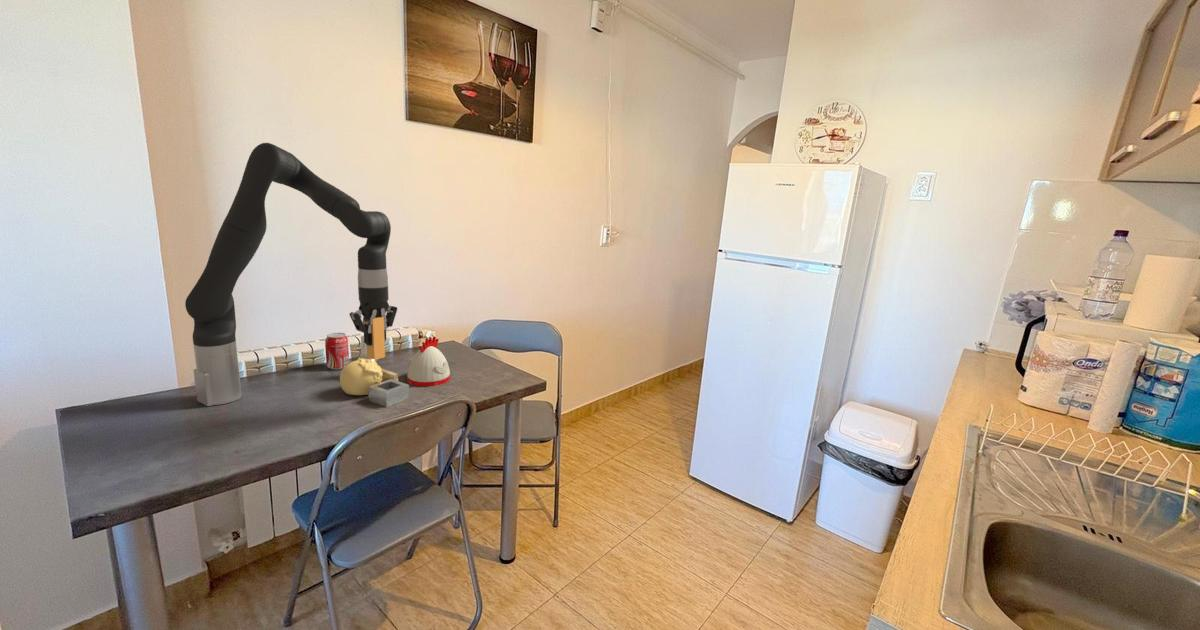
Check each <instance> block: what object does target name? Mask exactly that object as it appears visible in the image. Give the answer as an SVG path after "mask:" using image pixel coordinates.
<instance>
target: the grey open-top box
mask: <svg viewBox="0 0 1200 630" xmlns="http://www.w3.org/2000/svg"><path fill="white" fill-rule="evenodd" d="M409 399H410V384H408V383H404V382H401V381H399V380H398V381H396V380H393V379H389V380H386V381H383V382H380V383H377V384H374V385H371V386H369V394H368V401H370V402H373V403H375V404H377V405H380V406H383V407H386V408H388V407H390V406H394V405H395V404H399V403H401V402H403V401H406V400H409Z"/></svg>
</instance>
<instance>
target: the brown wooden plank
mask: <svg viewBox="0 0 1200 630" xmlns="http://www.w3.org/2000/svg"><path fill="white" fill-rule="evenodd" d="M380 368H381V369H382V370H381V371H382V373H383V376H382V381H381V382H383V381H386V380H389V379H393V380H396V381H399V373H396V372H394V371H392V370H391V371H390V370H388V369H384V368H382V367H380Z"/></svg>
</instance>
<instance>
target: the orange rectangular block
mask: <svg viewBox="0 0 1200 630" xmlns="http://www.w3.org/2000/svg"><path fill="white" fill-rule="evenodd" d="M366 320H367V319H366ZM367 321H370V320H367ZM371 333H372V345H371V346H369V345H366V346H367V358H370V359H373V360H376V359H377V360H379V359H383V358H386V344H385V343H386V340H385V337H384V317H378V318H375V319H373V325H372V332H371Z"/></svg>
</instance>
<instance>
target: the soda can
mask: <svg viewBox="0 0 1200 630" xmlns="http://www.w3.org/2000/svg"><path fill="white" fill-rule="evenodd" d="M324 344H325V345H324V346H325V348H324V350H325V351H324V352H325V361H326V367H327V368H328V369H330V370H334V371H336V370H337V371H340V370H343V368H344V367H345V366H346V365H347V364H349V363H350V355H349V354H350V351H349V349H350V348H349V339H348V337H347V336H346V333H344V332H331V333H327V334H326V338H325V340H324Z"/></svg>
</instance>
